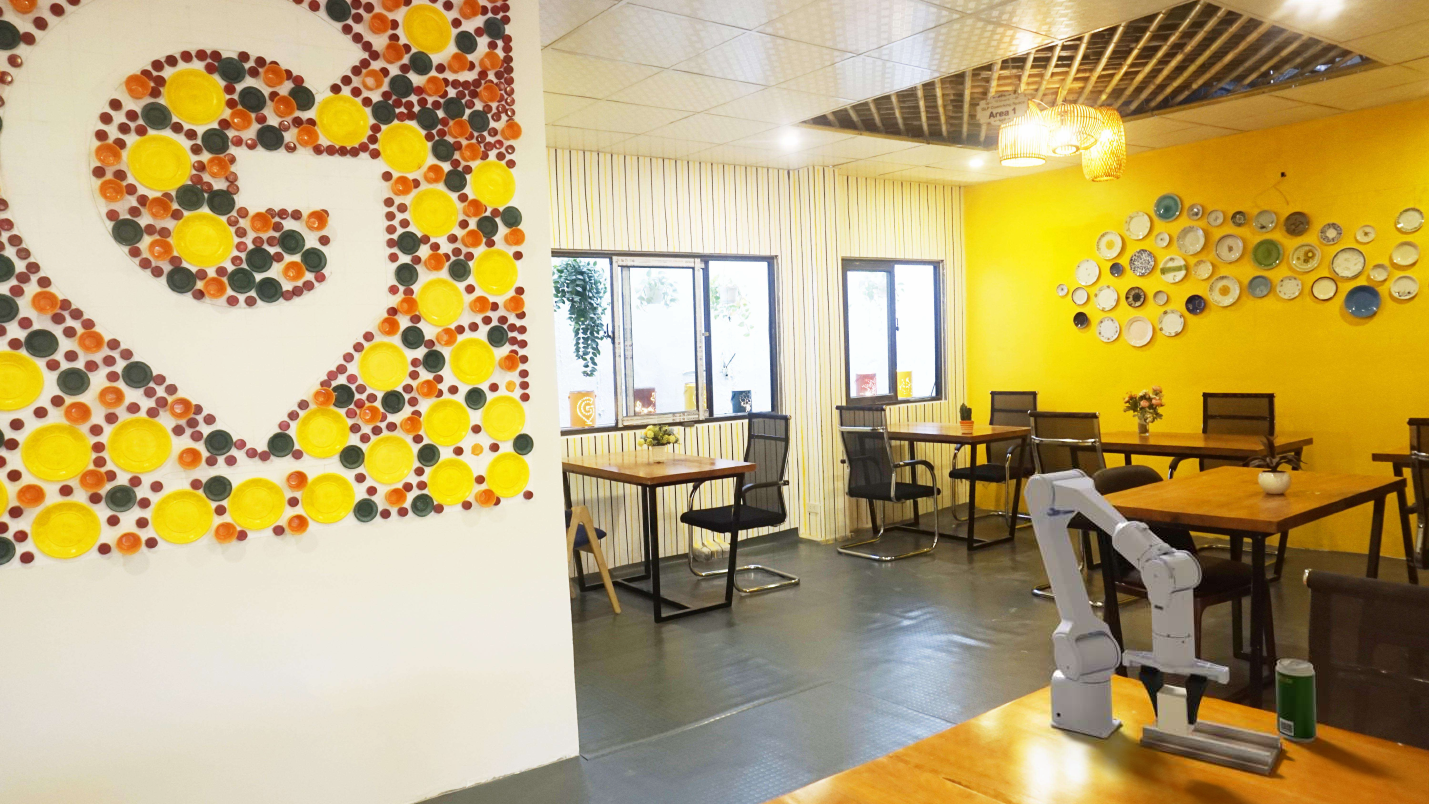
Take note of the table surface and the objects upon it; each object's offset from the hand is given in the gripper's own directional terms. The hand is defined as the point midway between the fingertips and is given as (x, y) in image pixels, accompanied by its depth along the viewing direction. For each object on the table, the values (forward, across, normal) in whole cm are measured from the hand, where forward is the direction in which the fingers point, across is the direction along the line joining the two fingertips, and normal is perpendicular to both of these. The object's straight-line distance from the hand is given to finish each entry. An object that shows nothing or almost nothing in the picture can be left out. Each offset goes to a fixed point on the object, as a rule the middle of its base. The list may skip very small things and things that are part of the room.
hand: (1175, 718), depth 136 cm
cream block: (+2, 0, 0) cm, 2 cm away
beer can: (+8, +12, +22) cm, 26 cm away
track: (+8, +2, +10) cm, 13 cm away
